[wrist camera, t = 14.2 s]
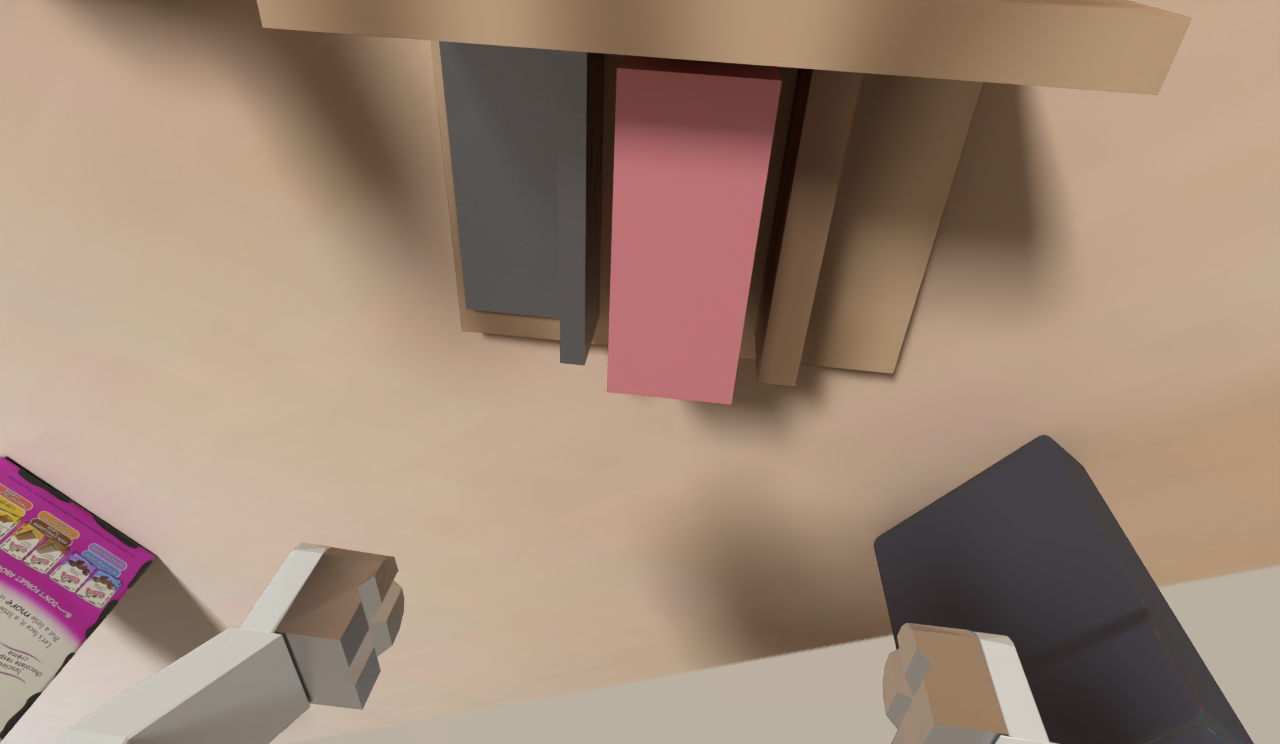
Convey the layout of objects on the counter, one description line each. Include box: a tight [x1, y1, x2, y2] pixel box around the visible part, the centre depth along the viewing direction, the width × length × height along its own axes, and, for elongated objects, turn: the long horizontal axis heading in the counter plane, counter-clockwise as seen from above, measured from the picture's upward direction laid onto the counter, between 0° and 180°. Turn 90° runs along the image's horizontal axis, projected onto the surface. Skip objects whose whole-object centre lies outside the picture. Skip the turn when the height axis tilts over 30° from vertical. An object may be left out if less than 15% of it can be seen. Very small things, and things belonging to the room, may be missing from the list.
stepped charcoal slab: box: [874, 435, 1254, 744], centre depth 32 cm, size 11×4×15 cm, turn 141°
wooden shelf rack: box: [257, 0, 1192, 386], centre depth 24 cm, size 20×16×12 cm
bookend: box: [439, 41, 605, 365], centre depth 27 cm, size 6×13×4 cm, turn 177°
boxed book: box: [607, 55, 782, 405], centre depth 25 cm, size 4×11×7 cm, turn 177°
